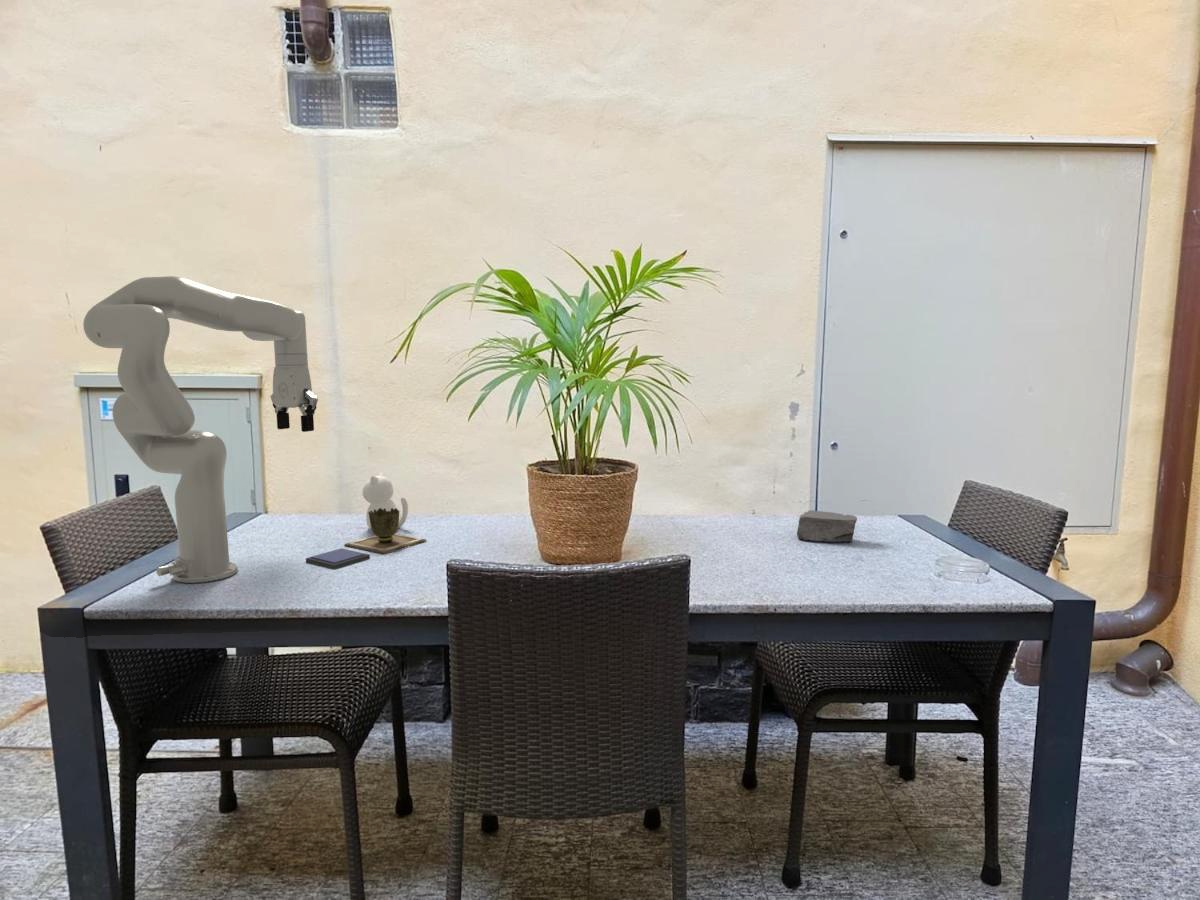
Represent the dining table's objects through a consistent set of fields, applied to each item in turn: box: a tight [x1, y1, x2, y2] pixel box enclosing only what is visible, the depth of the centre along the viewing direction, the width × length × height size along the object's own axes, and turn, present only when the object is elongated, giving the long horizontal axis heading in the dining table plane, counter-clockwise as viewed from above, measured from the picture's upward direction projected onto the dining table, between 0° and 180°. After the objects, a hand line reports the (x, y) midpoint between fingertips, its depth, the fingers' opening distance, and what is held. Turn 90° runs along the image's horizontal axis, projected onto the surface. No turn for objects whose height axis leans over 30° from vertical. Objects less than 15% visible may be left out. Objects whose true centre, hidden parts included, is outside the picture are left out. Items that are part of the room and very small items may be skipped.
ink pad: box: [305, 548, 371, 570], centre depth 180 cm, size 10×10×1 cm
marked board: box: [344, 533, 427, 555], centre depth 194 cm, size 14×14×1 cm
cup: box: [368, 508, 400, 543], centre depth 193 cm, size 8×7×8 cm
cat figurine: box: [362, 471, 409, 530], centre depth 209 cm, size 9×12×15 cm
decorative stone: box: [796, 509, 858, 545], centre depth 196 cm, size 15×7×10 cm
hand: (295, 430), depth 194 cm, fingers open, 9 cm apart
